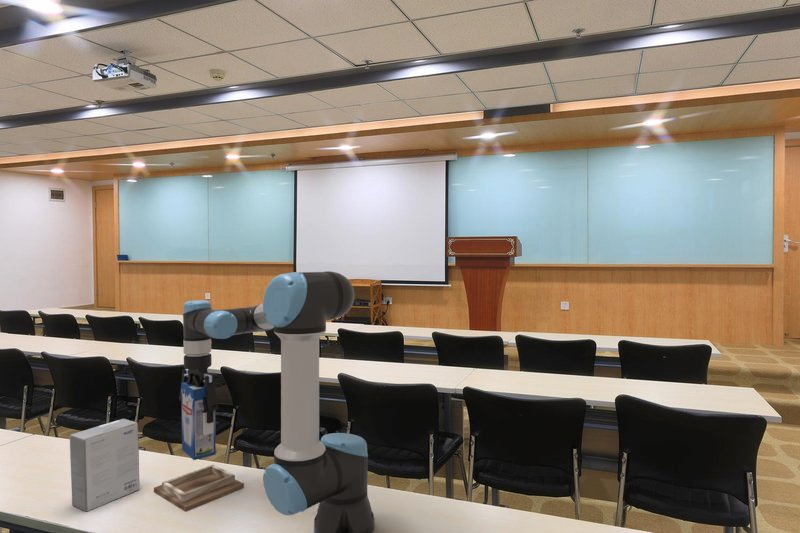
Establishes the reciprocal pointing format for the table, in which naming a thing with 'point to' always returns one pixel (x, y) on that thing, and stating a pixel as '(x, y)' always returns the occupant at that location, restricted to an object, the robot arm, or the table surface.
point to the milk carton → (195, 423)
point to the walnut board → (198, 487)
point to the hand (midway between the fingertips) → (198, 429)
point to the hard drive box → (104, 463)
